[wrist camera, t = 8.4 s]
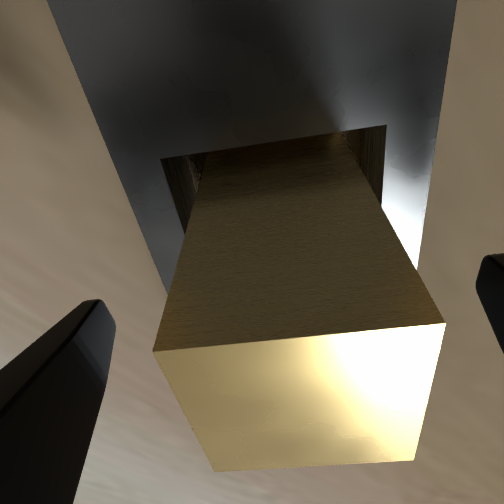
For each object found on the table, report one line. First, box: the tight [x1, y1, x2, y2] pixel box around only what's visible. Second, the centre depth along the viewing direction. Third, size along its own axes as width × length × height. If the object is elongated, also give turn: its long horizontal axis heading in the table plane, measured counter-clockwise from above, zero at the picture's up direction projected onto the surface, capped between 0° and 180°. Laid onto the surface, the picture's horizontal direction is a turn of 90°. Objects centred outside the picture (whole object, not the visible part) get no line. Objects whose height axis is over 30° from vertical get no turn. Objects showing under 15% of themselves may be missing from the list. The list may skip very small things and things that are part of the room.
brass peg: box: [152, 132, 446, 472], centre depth 9 cm, size 4×4×8 cm
